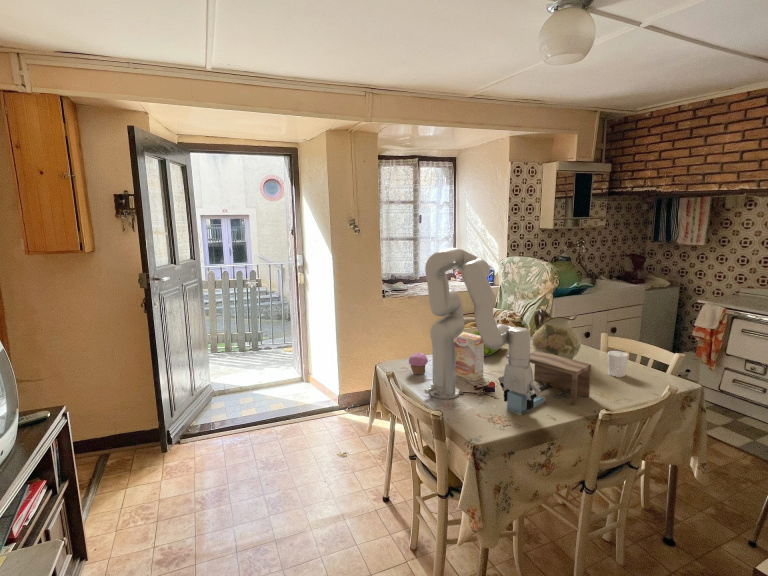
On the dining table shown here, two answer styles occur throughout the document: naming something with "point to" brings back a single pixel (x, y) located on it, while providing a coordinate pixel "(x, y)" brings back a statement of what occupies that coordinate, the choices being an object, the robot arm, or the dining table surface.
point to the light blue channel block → (521, 402)
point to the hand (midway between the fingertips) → (518, 404)
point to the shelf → (562, 374)
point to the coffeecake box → (469, 356)
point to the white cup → (617, 363)
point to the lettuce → (486, 350)
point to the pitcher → (555, 335)
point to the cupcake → (418, 363)
